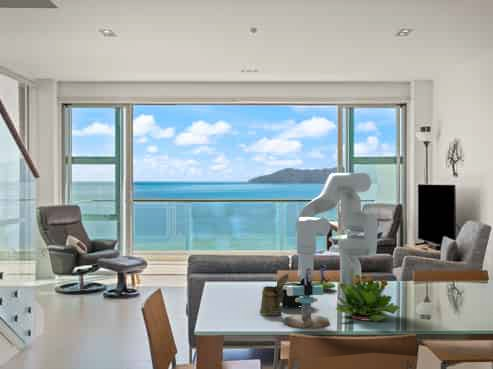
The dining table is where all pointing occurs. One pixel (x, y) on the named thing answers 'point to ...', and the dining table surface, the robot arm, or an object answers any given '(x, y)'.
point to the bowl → (290, 300)
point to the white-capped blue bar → (300, 291)
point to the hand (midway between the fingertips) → (306, 292)
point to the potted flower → (366, 299)
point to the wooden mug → (273, 297)
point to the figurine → (323, 278)
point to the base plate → (303, 323)
